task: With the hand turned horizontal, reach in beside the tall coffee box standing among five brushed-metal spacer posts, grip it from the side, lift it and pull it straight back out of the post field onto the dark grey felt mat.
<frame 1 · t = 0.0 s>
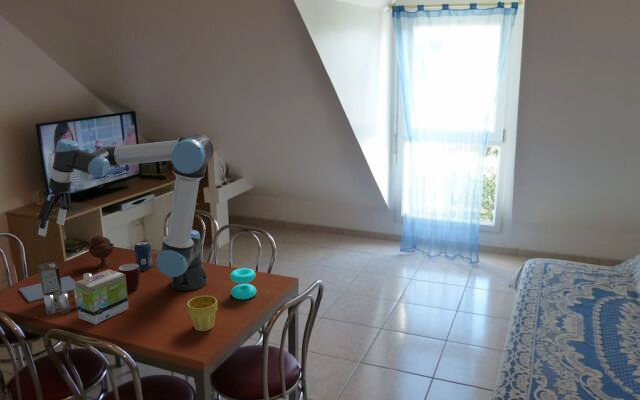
hand: (51, 229, 225), 28 cm above the table, tool tilted 20°, fingers open, 13 cm apart
donuts: (244, 295, 229), on the table
soda can: (144, 268, 258), on the table
tea box: (104, 314, 216), on the table
spacer posts: (189, 283, 241), on the table
coffee box: (54, 305, 224), on the table
ice cream bowl: (103, 266, 262), on the table
mug: (129, 291, 235), on the table
felt mat: (50, 289, 237), on the table
plant pot: (204, 327, 204), on the table
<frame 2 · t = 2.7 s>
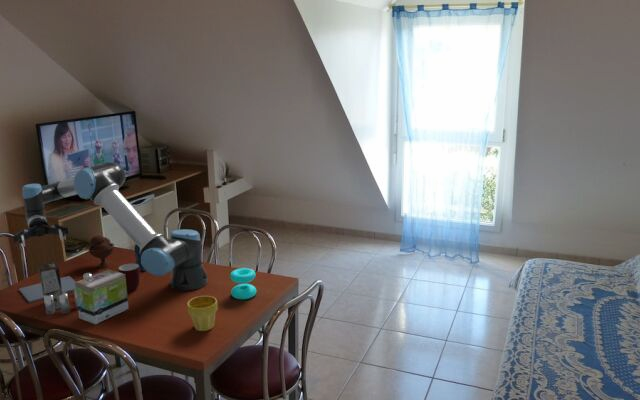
hand: (43, 240, 226), 24 cm above the table, tool horizontal, fingers open, 13 cm apart
nothing on the table moved.
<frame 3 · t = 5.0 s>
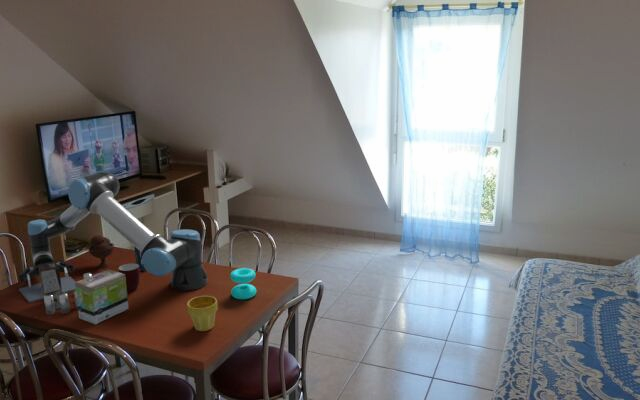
hand: (48, 279, 227), 8 cm above the table, tool horizontal, fingers open, 13 cm apart
nothing on the table moved.
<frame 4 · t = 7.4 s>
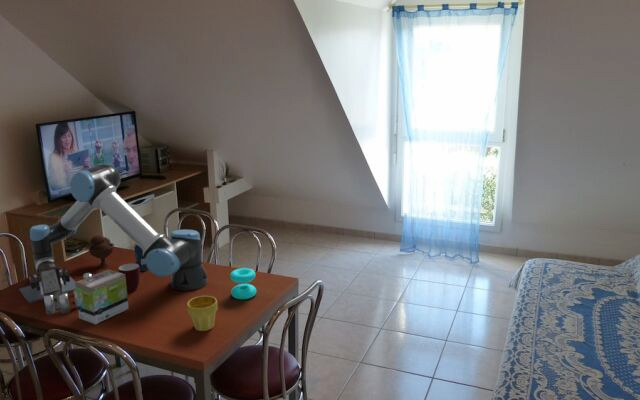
hand: (52, 289, 217), 9 cm above the table, tool horizontal, fingers closed on coffee box, 6 cm apart
coffee box: (54, 305, 224), on the table, touching gripper
everything else where it was.
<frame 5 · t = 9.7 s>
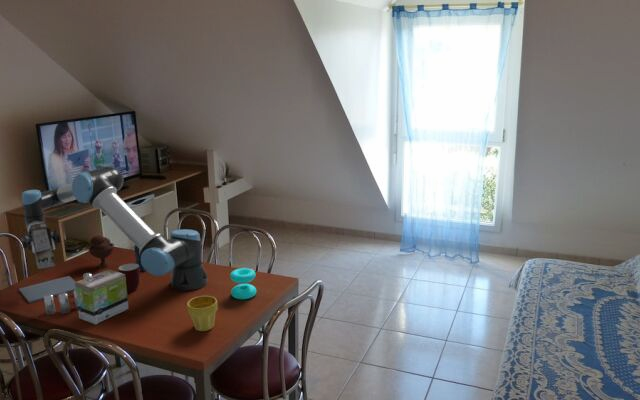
hand: (43, 248, 226), 21 cm above the table, tool horizontal, fingers closed on coffee box, 6 cm apart
coffee box: (45, 264, 233), point 12 cm above the table, touching gripper
everything else where it was.
when the fingers open (10 cm above the table, at t = 12.0 s): coffee box drops 1 cm, resting on felt mat.
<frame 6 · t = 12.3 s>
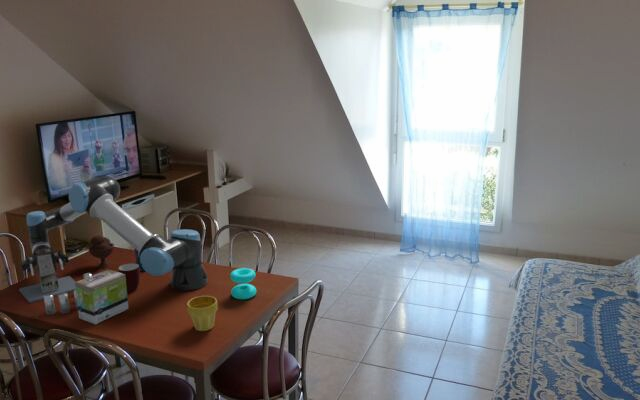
hand: (47, 269, 231), 10 cm above the table, tool horizontal, fingers open, 10 cm apart
coffee box: (49, 288, 237), point 1 cm above the table, touching felt mat
everything else where it was.
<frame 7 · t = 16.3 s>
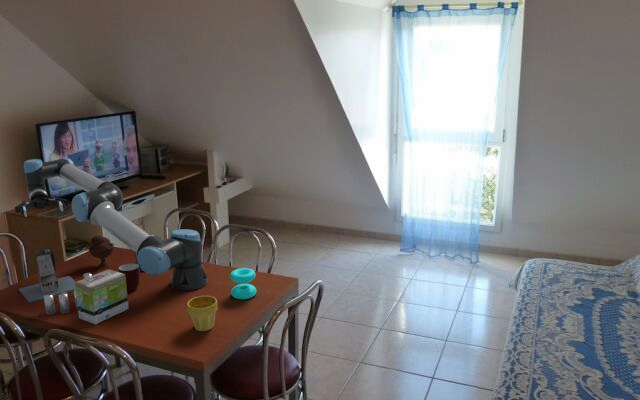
hand: (44, 210, 235), 32 cm above the table, tool horizontal, fingers open, 13 cm apart
nothing on the table moved.
at the end: coffee box inside the target area on the felt mat (0.2 cm from its centre), point 0.6 cm above the felt mat's base; coffee box tilted 0°; the gripper is holding nothing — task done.
